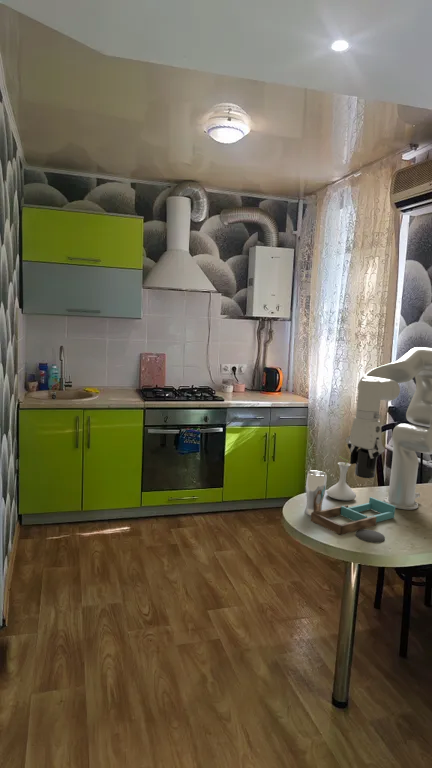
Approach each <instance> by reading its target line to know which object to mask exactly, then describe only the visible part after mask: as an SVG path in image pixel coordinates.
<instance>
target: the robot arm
mask: <svg viewBox="0 0 432 768" xmlns="http://www.w3.org/2000/svg"><path fill="white" fill-rule="evenodd" d="M414 378H415V385H416V387H415V391H414V393H413V396H412V399H411V400H410V403H409V405H408V407H407V410H406V413H405V419H406V420H407V421H408V422H409V423H400V424H397V425H395V427H394V428H393V430H392V432H391V433H392V434H391V436H392V437H391V439H392V459H391V460H392V461H391V467H390V468H391V469H390V470H391V471H390V477H389V489H388V496H385V497H384V498H383V502H385V503H388V504H391V505H393V506H395V509H397V510H398V509H400V510H405V511H406V510H408V511H409V510H410V511H411V510H416V509H418V508H419V504H418V502H417V501H415V500H416V499H417V498H420V497H421V494H420V492H416V489H417V488H416V487H417V479H418V471H419V470H418V469H419V458H418V455H417V453H422V454H426V455H432V347H424V346H422V347H421V346H419V347H418V346H416V347H413V348H411V349H410V350H408V352H406V353H404V355H402V356H401V357H400V358H399V359H397V360H396V361H395V362H394V361H393V362H390V363H387V364H384V365H380V366H378V367H375V368H372V369H370V370H369V371H368V372H366V373H365V374H364V375H363V376H362V377H361V378H360V380H359V381H358V383H357V398H356V399H357V401H356V411H355V417H353V420H352V421H353V422H352V424H351V430H350V435H349V436H347V437H346V438H345V444H346V443H347V444H348V447H349V449H350V452H351V455H350V457H351V458H350V457H349V458H350V459H349V464H350V465H351V464H352V465H353V464H354V465H356V457H357V450H358V449H359V447H360V448H363V449H367V450H368V451H369V455H370V458H368V467H367V469H369V470H371V469H374V468H375V464H376V465H377V462H376V458H377V459H378V457H380V455H382V454H383V453H384V452H385V451H386V449H385V447H384V445H383V444H382V424H381V421H380V419H382V414H380V407H381V401H384V402H385V401H387V402H390V401H394V400H396V399H397V398H398V397H399V395H400V393H401V386H400V384H402V383H403V384H404V383H407V382H410V381H412V379H414ZM416 452H417V453H416Z"/></svg>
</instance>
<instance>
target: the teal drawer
mask: <svg viewBox="0 0 432 768" xmlns="http://www.w3.org/2000/svg"><path fill="white" fill-rule="evenodd" d="M340 506H341V514H340V516H342V517H344V518H346V519H349V520H351V521H352V522H353V521H357V520H361V519H365V518H369V517H373V516H375V517H376V523H379V522H382V521H386V520H390V519H395V513H396V508H395V506H393V505H391V504H388V503H385V502H384V500H383V501H382V500H380V499H377V498H375V497H372V496H370V497H369V502H366V503H362V504H357V505H353V506H348V508H346V507H344V506H343V505H340ZM370 510H372V511H373V512H374V511H375V512H377V513H378V514H375V515H371V516H370V515H369V516H367V515H365V514H363V513H361V512H364V511H370Z"/></svg>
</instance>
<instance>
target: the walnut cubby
mask: <svg viewBox="0 0 432 768" xmlns="http://www.w3.org/2000/svg"><path fill="white" fill-rule="evenodd" d="M341 506H344V507H346V508H348V507H349V505H348V504H344V505H339V506H334V507H329V508H326V509H325V508H324V509H322V510H321V511H316V512H312V513H311V516H310V522H311V523H314V524H316V525H318V526H320V527H322V528H324V529H326V530H329V531H330V532H333V533H334V534H337V535H339V536H342V535H346V534H350V533H353V532H356V531H358V530H362V529H369V528H371V527H375V526H376V525H377V522H376V517H375V516H374V515H372V516H373V517H370V516H368V517H369V518H365V519H361V520H357V521H353V520H352V521H350V522H346V523H339V522H336V521H334V520H331V518H332V519H333V518H334V517H335V518H336V517H339V516H341V515H340V514H341Z"/></svg>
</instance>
